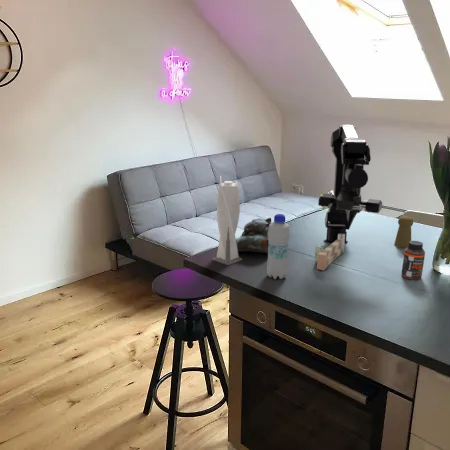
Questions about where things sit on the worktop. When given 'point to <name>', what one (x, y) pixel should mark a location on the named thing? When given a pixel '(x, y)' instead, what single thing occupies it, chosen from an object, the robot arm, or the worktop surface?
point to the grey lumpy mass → (255, 236)
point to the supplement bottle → (413, 261)
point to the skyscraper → (227, 222)
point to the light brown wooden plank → (329, 255)
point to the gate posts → (320, 248)
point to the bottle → (278, 247)
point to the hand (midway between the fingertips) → (347, 229)
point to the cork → (404, 232)
